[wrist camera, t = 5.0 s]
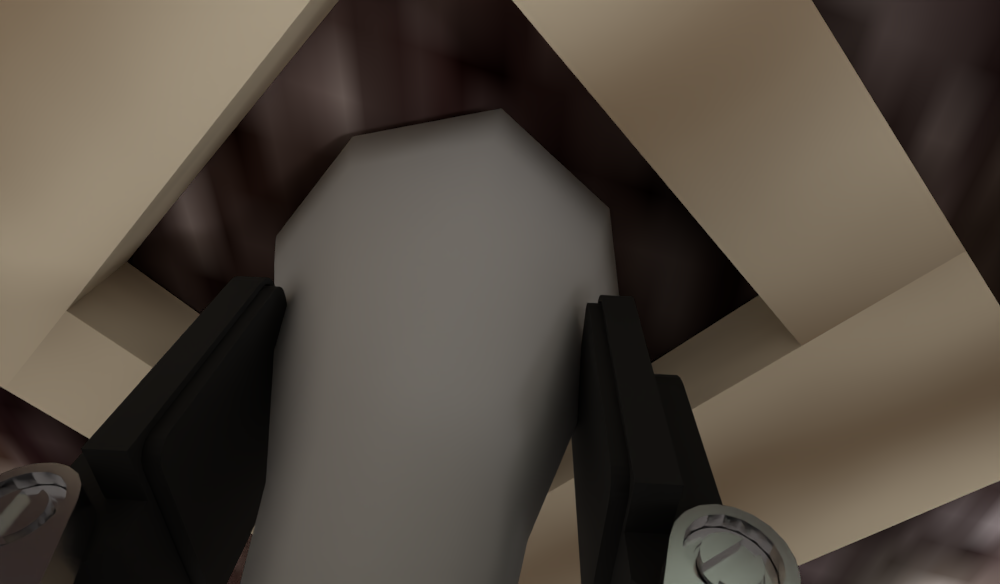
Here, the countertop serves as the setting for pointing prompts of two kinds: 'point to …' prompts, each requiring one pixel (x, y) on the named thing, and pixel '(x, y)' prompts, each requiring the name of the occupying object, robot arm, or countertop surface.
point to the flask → (426, 356)
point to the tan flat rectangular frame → (666, 147)
